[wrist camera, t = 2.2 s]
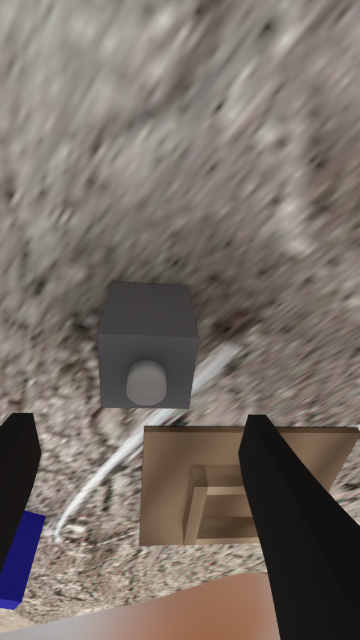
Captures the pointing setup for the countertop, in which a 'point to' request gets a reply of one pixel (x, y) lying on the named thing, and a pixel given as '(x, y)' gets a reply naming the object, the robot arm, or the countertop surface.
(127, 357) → the connector plug
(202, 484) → the end holder
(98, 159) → the countertop surface
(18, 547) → the cable clip
